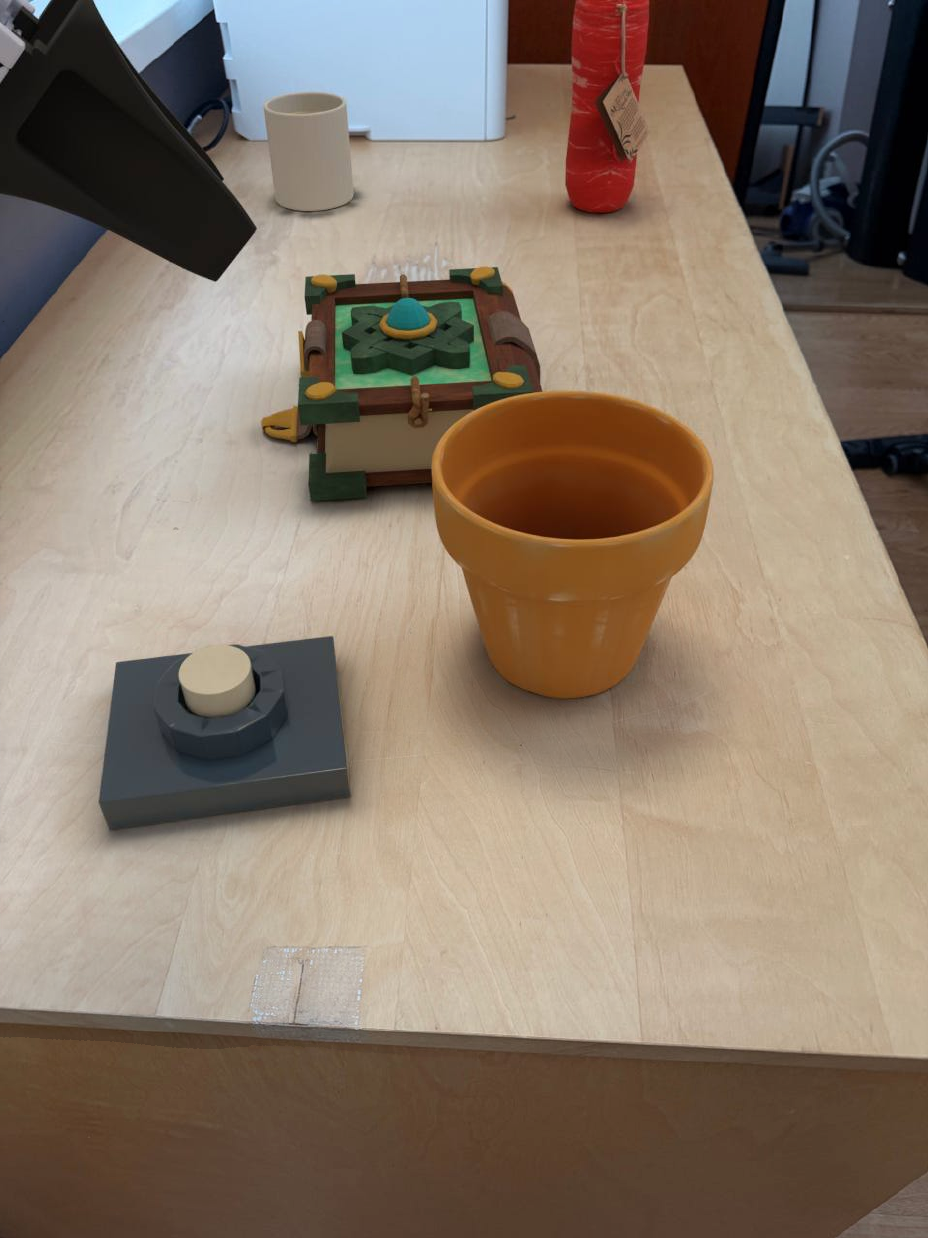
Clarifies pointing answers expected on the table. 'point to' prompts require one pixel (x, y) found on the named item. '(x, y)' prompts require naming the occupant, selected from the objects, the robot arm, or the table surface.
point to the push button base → (224, 739)
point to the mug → (309, 150)
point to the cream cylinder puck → (217, 681)
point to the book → (400, 373)
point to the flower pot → (569, 529)
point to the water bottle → (606, 102)
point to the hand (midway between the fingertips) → (219, 224)
